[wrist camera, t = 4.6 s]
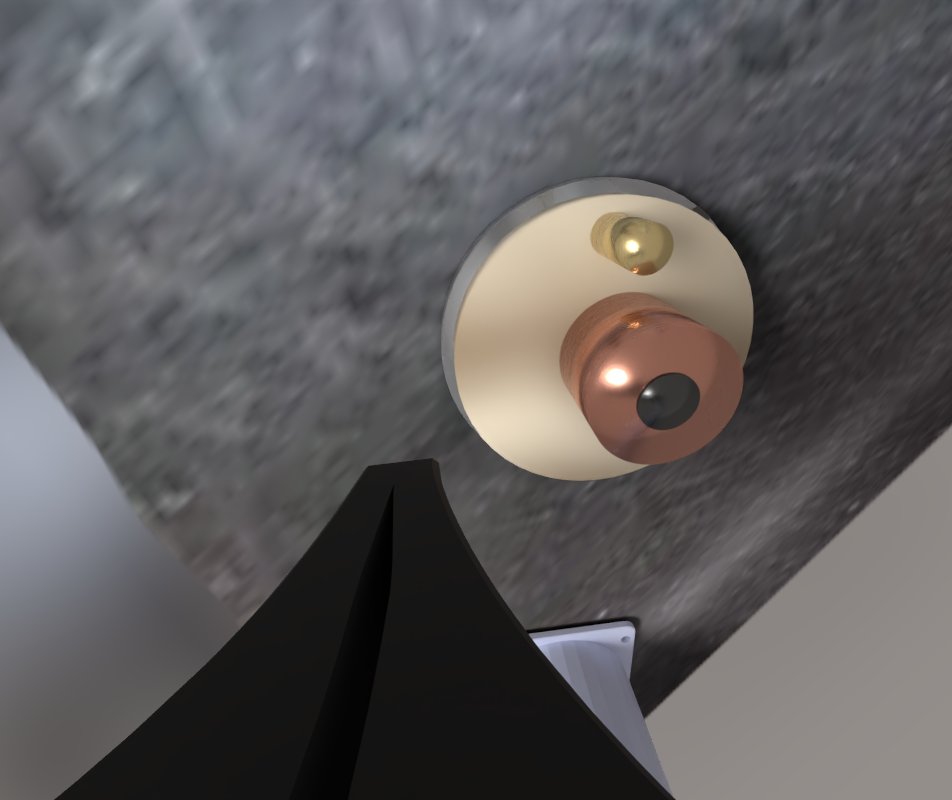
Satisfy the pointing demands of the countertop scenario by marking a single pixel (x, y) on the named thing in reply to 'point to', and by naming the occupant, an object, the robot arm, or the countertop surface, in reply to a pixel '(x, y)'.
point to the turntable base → (511, 221)
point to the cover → (649, 378)
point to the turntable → (562, 301)
